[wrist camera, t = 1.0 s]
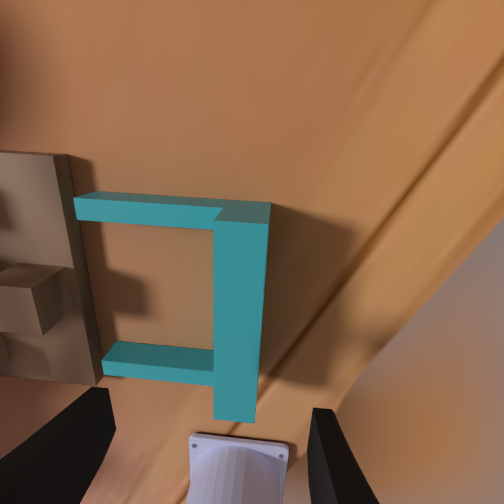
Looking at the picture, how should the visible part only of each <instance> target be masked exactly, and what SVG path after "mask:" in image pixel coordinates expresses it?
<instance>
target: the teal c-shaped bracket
mask: <svg viewBox="0 0 504 504" xmlns="http://www.w3.org/2000/svg"><path fill="white" fill-rule="evenodd" d="M73 200H74V205H75V211H76V217H77V220H87V221H100V222H114V223H128V224H142V225H156V226H170V227H184V228H197V229H211V230H214V351H213V350H202V349H192V348H182V347H172V346H161V345H151V344H141V343H131V342H120V341H116V343H115V344H114V345H113V346H112V348H111V349H110V350H109V351H108V353H107V354H106V355H105V356H104V358H103V359H102V360H101V361H102V367H103V373H104V375H112V376H122V377H131V378H141V379H150V380H160V381H169V382H179V383H188V384H198V385H207V386H214V419H218V420H227V421H236V422H245V423H255V411H256V400H257V388H258V377H259V365H260V351H261V337H262V323H263V309H264V296H265V282H266V268H267V254H268V240H269V226H270V212H271V203H268V202H253V201H238V200H223V199H208V198H192V197H177V196H162V195H147V194H131V193H116V192H101V191H93V192H90V193H87V194H84V195H81V196H77V197H74V198H73Z"/></svg>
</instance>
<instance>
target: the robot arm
mask: <svg viewBox="0 0 504 504" xmlns="http://www.w3.org/2000/svg"><path fill="white" fill-rule="evenodd" d="M115 431H116V426H115V421H114V415H113V410H112V405H111V400H110V395H109V390H108V388H100V387H91V388H90V389H88V390H87V391H86V392H85V393H83V394H82V395H81V396H80V397H79V398H77V399H76V400H75V401H74V402H72V403H71V404H70V405H69V406H68V407H66V408H65V409H64V410H63V411H62V412H60V413H59V414H58V415H57V416H55V417H54V418H53V419H52V420H51V421H49V422H48V423H47V424H46V425H44V426H43V427H42V428H41V429H39V430H38V431H37V432H36V433H34V434H33V435H32V436H31V437H29V438H28V439H27V440H26V441H24V442H23V443H22V444H20V445H19V446H18V447H16V448H15V449H14V450H12V451H11V452H10V453H9V454H7V455H6V456H5V457H3V458H2V459H1V460H0V504H80V502H81V500H82V499H83V497H84V495H85V493H86V491H87V490H88V488H89V486H90V484H91V482H92V480H93V479H94V477H95V475H96V473H97V471H98V469H99V468H100V466H101V464H102V462H103V460H104V457H105V455H106V453H107V451H108V448H109V446H110V443H111V441H112V439H113V436H114V434H115ZM288 456H289V447H288V445H286V444H284V443H276V442H267V441H258V440H250V439H241V438H232V437H224V436H215V435H206V434H198V433H193V434H191V435H190V438H189V457H190V480H191V483H190V487H189V491H188V495H187V499H186V503H185V504H282V499H283V492H284V485H285V477H286V470H287V463H288ZM307 457H308V475H309V476H308V477H309V489H310V497H311V504H379V502H378V500H377V498H376V497H375V495H374V493H373V491H372V489H371V488H370V486H369V484H368V482H367V481H366V478H365V476H364V475H363V473H362V471H361V469H360V467H359V465H358V463H357V461H356V459H355V457H354V455H353V453H352V452H351V449H350V447H349V445H348V443H347V441H346V439H345V437H344V434H343V432H342V430H341V428H340V425H339V423H338V421H337V418H336V416H335V413H334V412H333V410H332V409H323V408H313V412H312V419H311V426H310V433H309V440H308V447H307Z"/></svg>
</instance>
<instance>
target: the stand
mask: <svg viewBox="0 0 504 504" xmlns="http://www.w3.org/2000/svg"><path fill="white" fill-rule="evenodd" d="M74 197H75V195H74V189H73V184H72V178H71V172H70V166H69V160H68V154H54V153H37V152H19V151H2V150H0V376H7V377H17V378H26V379H35V380H44V381H54V382H63V383H72V384H81V385H91V386H97V384H98V383H99V382H100V380H101V379H102V377H103V376H104V373H103V367H102V361H101V360H102V353H101V347H100V341H99V335H98V330H97V324H96V318H95V312H94V306H93V300H92V295H91V289H90V283H89V277H88V271H87V265H86V260H85V254H84V248H83V242H82V236H81V230H80V225H79V220H77V217H76V211H75V205H74V200H73V198H74Z"/></svg>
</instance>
